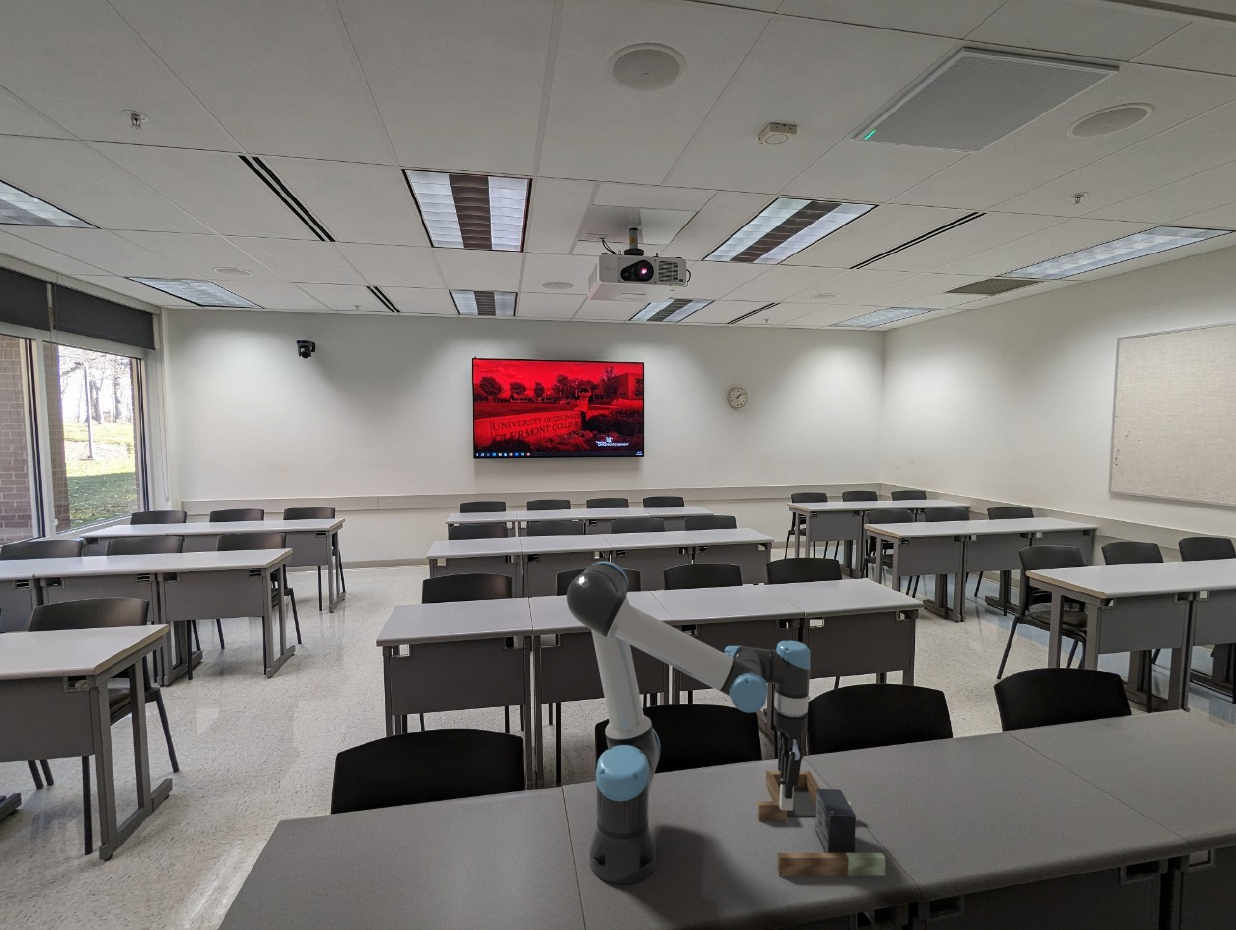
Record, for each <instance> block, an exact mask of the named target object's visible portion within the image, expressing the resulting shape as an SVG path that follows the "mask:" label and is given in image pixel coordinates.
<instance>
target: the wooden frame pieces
mask: <svg viewBox="0 0 1236 930" xmlns="http://www.w3.org/2000/svg"><path fill="white" fill-rule="evenodd" d="M781 779H782V778H781V777H780V771H779V770H766V771H765V787H766V788H767V789H766V790H767V791H768V794H769V796H770V798H771V800H770V801H767V800H766V801H762V800H761V801H760V800H759V801H757V815H756V816H757V820H758V821H759V822H764V821H765V822H766V821H767V822H770V821H771V822H773V821H774V822H779V821H780V822H781V821H782V822H785V821H788V817H787V810H781V809H780V806H779V804H780V788H779V787H780V780H781ZM818 784H819V783H818V782H817V780H816V779H815V777H814V775H813V774H812V772H811V771H810V770H800V774H799V780H798V787H806V788H807V790H808V792H809V794H810V796H811V798H812V800H813V801H814V803H815V805H816V788H818V789H821V788H820V786H819V785H818ZM847 801H848V800H847ZM848 803H849V805H850V807H851V808H852V809H853V807H852V806H853V805H852V804H851V803H852V802H850V801H848ZM776 868H777V873H778V876H779V877H780V876H782V877H783V876H785V877H787V876H788V877H791V876H793V877H794V876H796V877H798V876H799V877H800V876H801V877H802V876H803V877H804V876H805V877H807V876H810V877H811V876H813V877H814V876H815V877H817V876H818V877H819V876H821V877H827V876H831V877H832V876H834V877H836V876H837V877H838V876H839V877H846V876H853V877H854V876H859V877H860V876H861V877H862V876H864V877H865V876H867V877H868V876H869V877H870V876H873V877H874V876H879V877H880V876H886V857H885V854H884V853H883V852H855V853H825V852H778V853H777V867H776Z"/></svg>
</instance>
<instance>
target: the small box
mask: <svg viewBox="0 0 1236 930" xmlns="http://www.w3.org/2000/svg"><path fill="white" fill-rule="evenodd" d="M814 819H815V821H814V831H815V833H816V836H817V838H818V841H819V842H820V844H821V847H822V850H823V853H856V831H857V829H856V827H857V825H856V823H857V821H856V820H857V815H856V814H855V812H854V811H853V807H852V808H851V807H850V805H849V803H848V800H847V798H846V797H845V795H844V793H843V791H842V790H841V789H838V788H836V789H834V788H832V789H831V788H820V789H818V788H816V816H815V817H814Z"/></svg>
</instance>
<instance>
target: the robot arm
mask: <svg viewBox="0 0 1236 930" xmlns="http://www.w3.org/2000/svg"><path fill="white" fill-rule="evenodd" d="M628 592H629V580H628V576H627V574H626V573H625V571H624V570H623V569H622V567H620V566H618V564H615V563H613V562H611V561H597V562H595V563H593V564H591V565H589V566H587V567H586V568H585V569H584V571H582V572H581V573H580V574H578V575H577V576H576V577H575V578H574V579H572V581H571V582H570V584H569V585H568V588H567V592H566V604H567V606H568V609H569V611H570V613H571V614H572V615H573V617H574V618H575V619H576V620H577V621H578V622H580V624H582V625H584V626H585V627H587V628H588V629H590V630H591V635H592V639H593V640H592V641H593V643H594V649H595V655H596V660H597V664H598V670H599V674H600V675H599V676H600V680H601V685H602V690H603V695H604V700H605V706H606V710H607V715H608V716H607V717H608V720H609V723H608V724H607V726H606V728H605V731H604V732H605V737H606V742H607V743H606V744H607V747H608V749H606V750H605V751H604V752H603V753H602V754H601V755H600V756H599V758H598V760H597V765H596V769H595V770H596V771H595V781H596V826H595V830H594V833H593V836H592V839H591V841H590V845H589V848H588V863H589V867H590V869H591V871H593V873H594V874H595V875H596V876H597V877H599V878H600V879H602V880H604V881H605V882H609V883H612V884H617V885H618V884H619V885H626V884H627V885H628V884H634V883H638V882H640V881H642V880H645V879H646V878H647V877H649V876H650V875H651V873H652V872H653V871H654V869H655V867H656V865H657V849H656V845H655V842H654V839H653V836H652V832H651V829H650V827H649V798H650V797H649V796H650V790H651V787H652V783H653V780H654V776H655V772H656V769H657V766H658V763H659V761H660V758H661V757H660V756H661V743H660V738H659V735H658V733H657V732H656V731H655V729H654V728H653V725H652V721H651V719H650V718H649V717H648V716H646V715H644V710H643V705H642V700H641V696H640V689H639V685H638V681H637V680H638V679H637V674H636V671H635V665H634V660H633V654H632V649H631V646H632V647H635V648H636V649H638V650H640V651H642V652H644V653H646V654H648V655H650V656H651V657H654V658H655V659H657V660H659V661H662V662H663V663H666V664H667V665H668V666H670V667H673V668H675V669H676V670H679V671H680V672H683V673H684V674H686V675H688V676H689V677H691V678H694V679H696V680H698V681H699V682H701V683H703V684H706V685H707V686H709V687H711V688H713V689H715V690H716V691H718V692H721V693H723V694H724V695H726V696H727V697H729V698H730V699H731V702H732V704H733V705H734V706H735V707H736V709H738V710H739V711H741V712H744V713H749V714H750V713H755V712H757V711H760V710H761V709H762V708H763V707H764V706H765V705H766V701H767V698H768V689H769V688H768V685H767V684H769V685H772V684H775V686H774V696H773V697H774V702H773V705H774V710H773V725H774V726H775V727H776V734H777V771H780V777H781V778H782V779H781V780H780V804H779V806H780V809H781V810H792V811H793V795H794V787H798V780H799V774H800V771H801V767H802V766H801V765H802V760H803V759H804V753H803V752H802V751H800V746H801V741H802V740H801V737H800V734H802V733H805V732H806V730H807V729H808V720H809V719H808V718H809V713H808V711H809V702H810V701H811V696H810V695H809V694H810V679H811V649H810V647H808V646H807V645H806V644H804V643H803V642H800V641H796V640H782V641H779V642H778V643H777V645H776V649H767V648H759V647H750V646H743V645H728V646H726V647H725V648H724V652H722V651H720V650H718V649H716V648H715V647H713V646H710V645H709V644H706V643H705V642H702V641H701V640H699V639H696V638H695V637H693V636H691V635H689V634H687V633H685V632H683V631H681V630H679V629H678V628H676V627H674V626H671V625H669V624H668V623H665V622H664V621H661V620H659V619H658V618H656V617H654V616H652V615H650V614H648V613H646V612H645V611H642V610H640V609H638V608H636V607H635V606H633V605H631V604H630V602H629V601H630V600H629V599H628V597H627V596H628V595H627V594H628Z"/></svg>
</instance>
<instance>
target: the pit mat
mask: <svg viewBox="0 0 1236 930" xmlns="http://www.w3.org/2000/svg"><path fill="white" fill-rule="evenodd" d="M779 788H780V787H779ZM815 816H816V805H815V803H814V801H813V800H812V798H811V796H810V794H809V792H808V790H807V788H806V787H794V795H793V811H792V810H787V818H806V817H807V818H809V817H811V818H812V817H813V818H815Z"/></svg>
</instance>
